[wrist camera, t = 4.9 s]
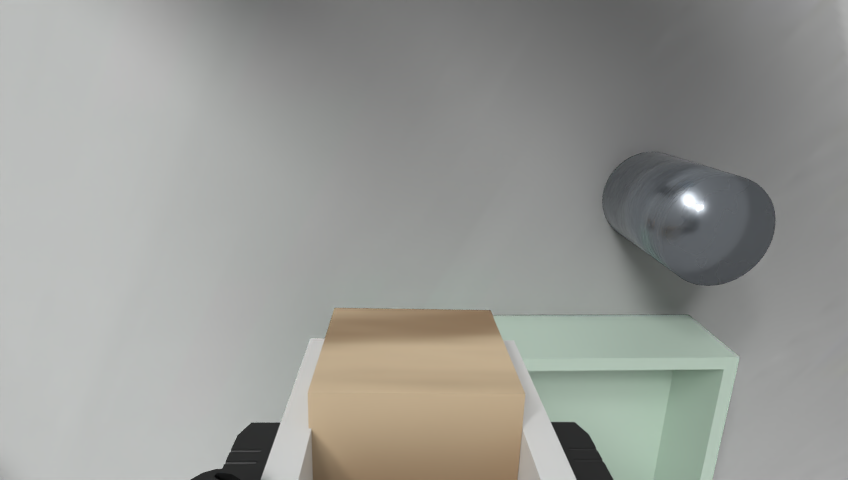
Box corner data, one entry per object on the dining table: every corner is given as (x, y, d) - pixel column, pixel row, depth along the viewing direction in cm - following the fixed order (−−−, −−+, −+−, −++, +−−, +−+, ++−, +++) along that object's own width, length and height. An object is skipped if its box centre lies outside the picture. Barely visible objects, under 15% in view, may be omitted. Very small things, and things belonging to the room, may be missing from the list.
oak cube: (334, 307, 17) (307, 392, 12) (490, 310, 17) (525, 394, 12) (336, 444, 18) (312, 569, 13) (480, 444, 18) (509, 568, 14)
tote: (333, 316, 31) (321, 360, 26) (688, 314, 32) (739, 357, 27) (341, 547, 36) (332, 619, 31) (647, 539, 37) (683, 608, 32)
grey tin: (608, 151, 29) (671, 175, 22) (697, 152, 29) (787, 175, 22) (597, 238, 30) (653, 285, 24) (682, 238, 31) (761, 285, 24)
